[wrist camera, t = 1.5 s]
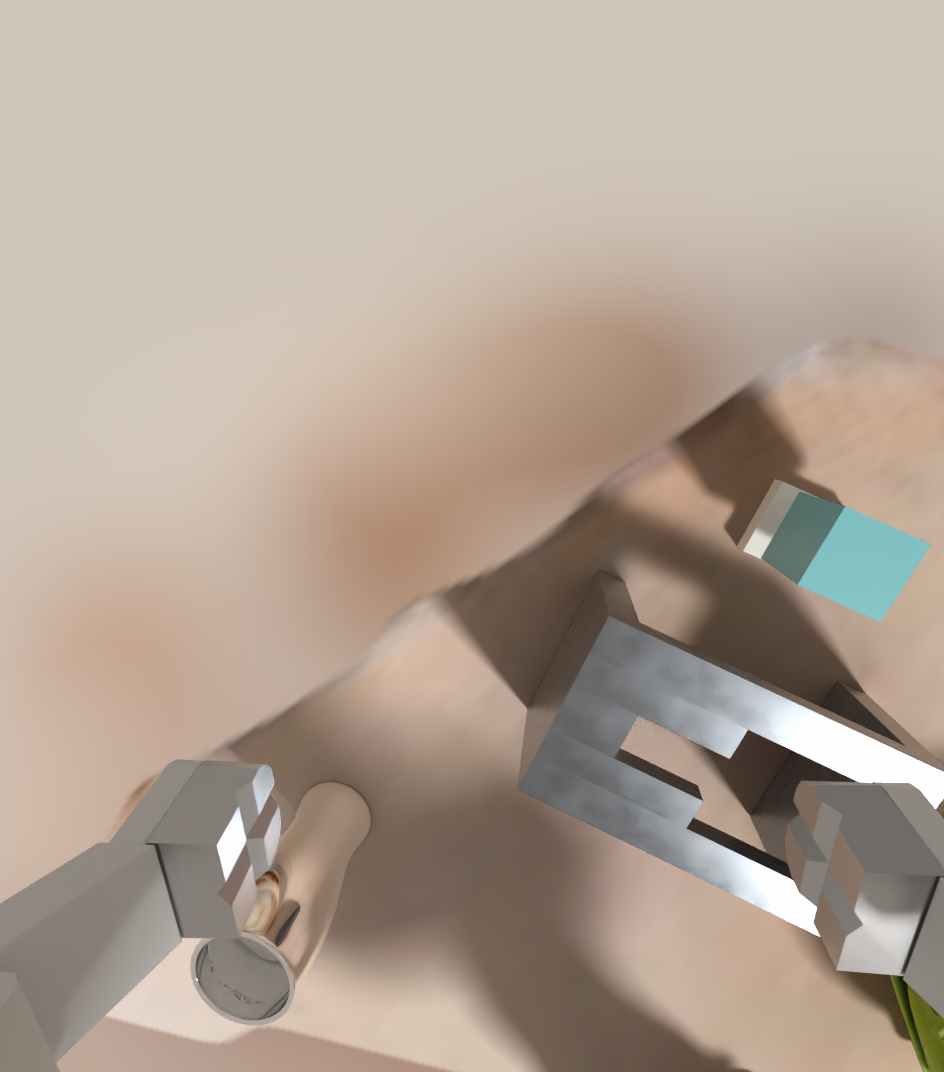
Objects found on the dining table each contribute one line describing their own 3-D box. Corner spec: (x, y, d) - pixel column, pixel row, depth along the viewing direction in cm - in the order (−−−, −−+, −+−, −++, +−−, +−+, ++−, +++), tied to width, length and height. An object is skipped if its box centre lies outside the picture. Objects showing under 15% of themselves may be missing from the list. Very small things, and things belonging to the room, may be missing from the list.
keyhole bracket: (865, 693, 41) (958, 778, 32) (775, 828, 44) (834, 943, 34) (598, 570, 42) (608, 615, 33) (527, 709, 45) (517, 789, 36)
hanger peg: (846, 510, 39) (938, 542, 30) (805, 577, 40) (881, 628, 31) (774, 478, 40) (843, 499, 30) (736, 546, 41) (790, 586, 31)
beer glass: (279, 802, 50) (163, 960, 36) (339, 761, 49) (243, 909, 34) (332, 865, 51) (238, 1046, 36) (393, 826, 49) (321, 999, 35)
